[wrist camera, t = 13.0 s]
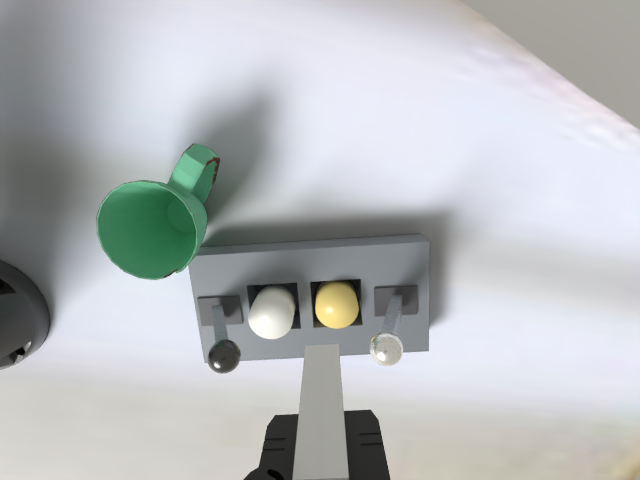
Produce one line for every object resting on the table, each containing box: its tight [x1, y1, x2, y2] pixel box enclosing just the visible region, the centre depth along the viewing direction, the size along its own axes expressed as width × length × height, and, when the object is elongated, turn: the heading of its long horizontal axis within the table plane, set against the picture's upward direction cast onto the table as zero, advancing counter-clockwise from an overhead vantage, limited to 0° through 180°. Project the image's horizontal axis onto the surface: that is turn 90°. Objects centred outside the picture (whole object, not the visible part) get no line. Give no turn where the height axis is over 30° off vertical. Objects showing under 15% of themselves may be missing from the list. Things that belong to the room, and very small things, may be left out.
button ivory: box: [248, 285, 296, 339], centre depth 40 cm, size 5×5×4 cm
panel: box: [188, 234, 430, 363], centre depth 43 cm, size 28×14×4 cm, turn 94°
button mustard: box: [315, 280, 359, 329], centre depth 42 cm, size 5×5×4 cm
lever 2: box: [369, 294, 403, 366], centre depth 35 cm, size 3×3×11 cm
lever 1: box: [207, 304, 241, 374], centre depth 36 cm, size 3×3×11 cm
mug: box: [96, 144, 220, 280], centre depth 38 cm, size 15×10×10 cm
